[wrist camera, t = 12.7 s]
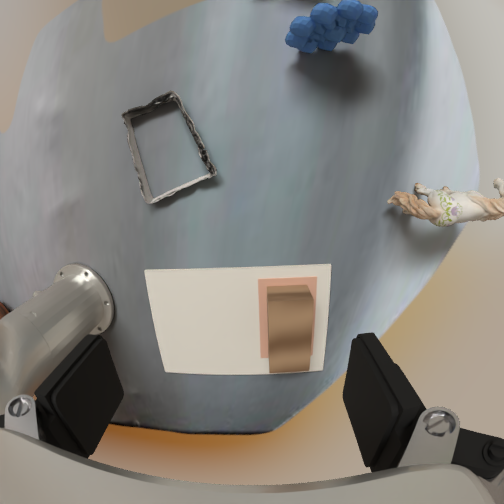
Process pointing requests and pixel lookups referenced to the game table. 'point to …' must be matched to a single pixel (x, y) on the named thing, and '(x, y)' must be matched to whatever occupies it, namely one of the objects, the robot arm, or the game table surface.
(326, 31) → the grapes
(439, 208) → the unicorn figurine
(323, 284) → the rubber mat
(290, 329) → the walnut block
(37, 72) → the game table surface
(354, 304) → the game table surface
